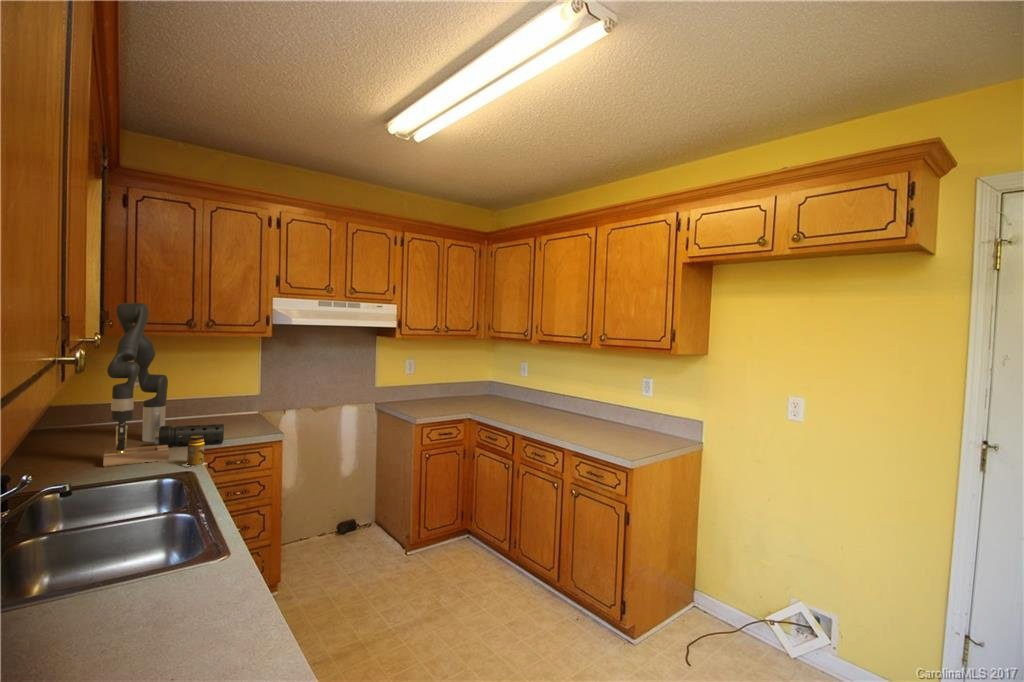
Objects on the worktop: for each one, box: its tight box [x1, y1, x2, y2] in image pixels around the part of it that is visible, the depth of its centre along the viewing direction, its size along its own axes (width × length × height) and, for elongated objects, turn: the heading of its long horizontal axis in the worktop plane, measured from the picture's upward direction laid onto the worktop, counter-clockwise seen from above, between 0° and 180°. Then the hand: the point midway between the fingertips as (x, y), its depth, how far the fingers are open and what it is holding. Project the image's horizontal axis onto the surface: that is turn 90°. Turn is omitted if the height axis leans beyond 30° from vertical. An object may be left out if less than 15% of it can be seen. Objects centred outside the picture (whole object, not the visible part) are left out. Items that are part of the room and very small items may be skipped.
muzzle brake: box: [154, 423, 225, 448], centre depth 241 cm, size 10×28×10 cm, turn 120°
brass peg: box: [115, 429, 128, 453], centre depth 208 cm, size 5×5×14 cm
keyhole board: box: [102, 445, 170, 467], centre depth 212 cm, size 12×22×4 cm, turn 128°
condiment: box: [186, 435, 208, 468], centre depth 210 cm, size 7×8×12 cm
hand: (121, 448), depth 208 cm, fingers open, 4 cm apart
